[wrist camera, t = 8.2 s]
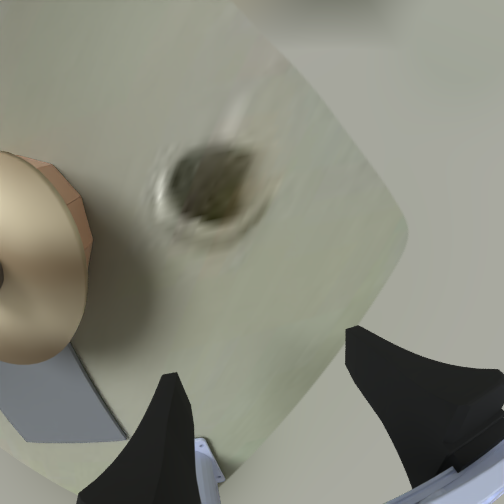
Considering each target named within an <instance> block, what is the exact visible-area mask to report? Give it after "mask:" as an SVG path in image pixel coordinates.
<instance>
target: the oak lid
mask: <svg viewBox="0 0 504 504" xmlns="http://www.w3.org/2000/svg"><path fill="white" fill-rule="evenodd" d="M87 293H88V271H87V262H86V256H85V252H84V247H83V243H82V240H81V237H80V234H79V231H78V228H77V225H76V223H75V221H74V219H73V216H72V214H71V212H70V210H69V208H68V207H67V205H66V203H65V202H64V200H63V198H62V197H61V195H60V194H59V192H58V191H57V190H56V188H55V187H54V186H53V184H52V183H51V182H50V181H49V180H48V179H47V178H46V177H45V176H44V175H43V173H41V172H40V171H39V170H38V169H37V168H35V167H34V166H33V165H32V164H30V163H29V162H27V161H25V160H24V159H22V158H21V157H19V156H16V155H14V154H11V153H9V152H5V151H0V361H3V362H6V363H10V364H17V365H30V364H37V363H40V362H44V361H47V360H49V359H50V358H52V357H54V356H56V355H57V354H58V353H59V352H61V351H62V350H63V349H64V348H65V347H66V346H67V344H68V343H69V342H70V341H71V339H72V337H73V336H74V334H75V332H76V330H77V328H78V326H79V324H80V321H81V319H82V316H83V314H84V310H85V306H86V302H87Z"/></svg>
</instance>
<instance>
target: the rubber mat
mask: <svg viewBox="0 0 504 504" xmlns="http://www.w3.org/2000/svg"><path fill="white" fill-rule="evenodd" d="M0 410H1V411H2V413H3V414H4V415H5V416H6V418H7V419H8V420H9V422H10V423H11V424H12V425H13V427H14V428H15V429H16V430H17V431H18V433H19V434H20V435H21V436H22V437H23V438H24V440H25V441H26V442H38V443H87V442H108V441H122V440H126V435H125V434H124V432H123V431H122V429H121V428H120V426H119V425H118V423H117V422H116V420H115V419H114V417H113V416H112V414H111V413H110V411H109V410H108V408H107V407H106V405H105V403H104V402H103V400H102V399H101V397H100V395H99V394H98V392H97V390H96V389H95V387H94V385H93V384H92V382H91V380H90V379H89V377H88V375H87V373H86V371H85V370H84V368H83V366H82V364H81V362H80V361H79V359H78V357H77V355H76V353H75V351H74V349H73V347H72V345H71V343H70V342H69V343H68V344H67V346H66V347H65V348H64V349H63V350H62V351H61V352H59V353H58V354H57V355H56V356H54V357H52V358H50V359H49V360H47V361H44V362H40V363H37V364H30V365H17V364H10V363H6V362H3V361H0Z"/></svg>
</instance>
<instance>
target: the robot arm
mask: <svg viewBox="0 0 504 504" xmlns="http://www.w3.org/2000/svg"><path fill="white" fill-rule="evenodd" d="M345 365H346V367H347V369H348V371H349V373H350V375H351V377H352V379H353V380H354V382H355V384H356V385H357V387H358V388H359V390H360V391H361V392H362V394H363V396H364V397H365V398H366V400H367V401H368V403H369V404H370V405H371V407H372V408H373V410H374V411H375V412H376V414H377V415H378V417H379V418H380V420H381V421H382V423H383V425H384V426H385V429H386V430H387V432H388V434H389V436H390V438H391V440H392V442H393V444H394V446H395V448H396V450H397V452H398V455H399V457H400V459H401V461H402V464H403V466H404V468H405V471H406V473H407V476H408V478H409V481H410V484H411V486H412V490H410V491H409V492H407V493H404V494H403V495H401V496H399V497H396V498H394V499H392V500H390V501H388V502H386V503H384V504H492V503H493V502H494V501H495V500H497V499H498V498H499V497H500V496H501V495H502V494H504V411H503V410H502V409H501V408H502V406H503V404H504V374H503V373H502V372H501V371H500V370H498V369H476V368H468V367H461V366H455V365H450V364H446V363H442V362H438V361H435V360H431V359H428V358H425V357H422V356H420V355H417V354H414V353H412V352H410V351H407V350H405V349H403V348H401V347H399V346H396V345H394V344H393V343H391V342H389V341H387V340H385V339H383V338H381V337H379V336H377V335H376V334H374V333H372V332H370V331H368V330H366V329H364V328H363V327H360V326H359V325H357V326H354V327H351V328H348V329H346V351H345ZM224 481H225V477H224V475H223V473H222V471H221V469H220V467H219V465H218V463H217V461H216V460H215V458H214V456H213V454H212V452H211V450H210V448H209V446H208V444H207V442H206V440H205V439H204V438H196V439H194V422H193V416H192V409H191V404H190V402H189V399H188V397H187V395H186V393H185V390H184V388H183V385H182V383H181V381H180V378H179V376H178V373H177V372H175V373H169V374H164V375H162V377H161V379H160V381H159V384H158V386H157V389H156V391H155V394H154V396H153V398H152V400H151V402H150V405H149V407H148V409H147V411H146V413H145V415H144V417H143V419H142V420H141V422H140V424H139V426H138V428H137V430H136V431H135V433H134V434H133V436H132V438H131V439H130V441H129V442H128V444H127V445H126V446H125V448H124V449H123V450H122V452H121V453H120V454H119V456H118V457H117V458H116V459H115V460H114V462H113V463H112V464H111V465H110V466H109V467H108V468H107V469H106V470H105V471H104V472H103V473H102V474H101V475H100V476H99V477H98V478H97V479H96V480H95V481H93V482H92V483H91V484H90V485H88V486H87V487H86V488H85V489H83V490H82V491H81V492H79V494H78V498H77V503H76V504H221V501H220V496H219V490H218V484H217V483H220V482H224Z"/></svg>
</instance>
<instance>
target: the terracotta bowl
mask: <svg viewBox="0 0 504 504" xmlns="http://www.w3.org/2000/svg"><path fill="white" fill-rule="evenodd" d="M16 156H19V155H16ZM19 157H21V158H22V159H24V160H25V161H27V162H29V163H30V164H32V165H33V166H34V167H35V168H37V169H38V170H39V171H40V172H41V173H43V175H44V176H45V177H46V178H47V179H48V180H49V181H50V182H51V183H52V184H53V186H54V187H55V188H56V190H57V191H58V192H59V194H60V195H61V197H62V198H63V200H64V202H65V203H66V205H67V207H68V208H69V210H70V212H71V214H72V216H73V219H74V221H75V223H76V225H77V228H78V231H79V234H80V237H81V240H82V243H83V247H84V252H85V256H86V262H87V271H88V265H89V260H90V254H91V249H92V244H93V237H92V234H91V231H90V227H89V224H88V220H87V217H86V213H85V209H84V206H83V202H82V198H81V197H80V195H79V193H78V192H77V191H76V190H75V189H74V188H73V187H72V186H71V185H70V183H69V182H68V181H67V180H66V179H65V178H64V177H63V176H62V174H61V173H60V172H59V171H58V170H57V169H56V168H55V166H54V165H52V164H49V163H46V162H42V161H38V160H34V159H31V158H27V157H23V156H19Z"/></svg>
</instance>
